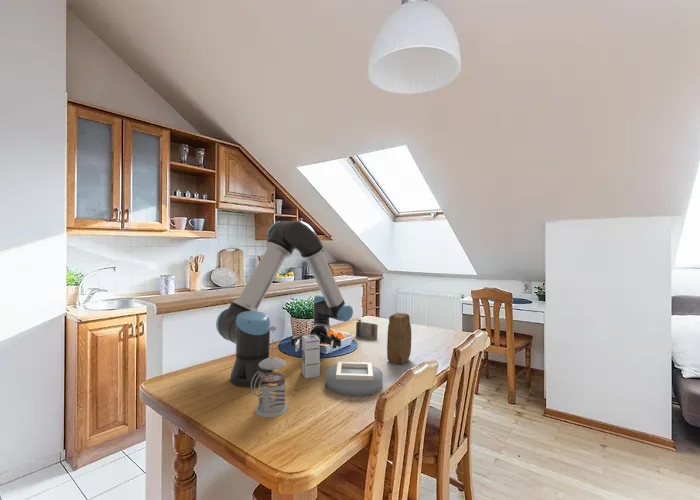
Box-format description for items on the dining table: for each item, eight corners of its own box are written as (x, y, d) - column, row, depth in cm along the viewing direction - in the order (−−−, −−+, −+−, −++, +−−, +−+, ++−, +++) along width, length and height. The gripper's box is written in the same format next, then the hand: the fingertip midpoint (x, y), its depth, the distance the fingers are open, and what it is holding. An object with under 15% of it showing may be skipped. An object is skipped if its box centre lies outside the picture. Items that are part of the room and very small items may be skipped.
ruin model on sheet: (355, 336, 183) (355, 318, 183) (358, 335, 186) (358, 317, 185) (374, 340, 177) (374, 321, 177) (377, 339, 180) (377, 320, 180)
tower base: (323, 395, 113) (323, 378, 113) (328, 372, 133) (328, 357, 133) (384, 397, 113) (385, 380, 112) (380, 373, 132) (380, 359, 132)
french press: (295, 408, 104) (296, 326, 103) (261, 423, 95) (263, 333, 94) (275, 398, 110) (276, 320, 110) (242, 410, 102) (244, 326, 101)
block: (400, 366, 141) (401, 317, 140) (384, 361, 145) (386, 314, 145) (413, 359, 149) (414, 313, 148) (398, 355, 154) (399, 310, 153)
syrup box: (319, 376, 128) (320, 338, 127) (304, 378, 126) (305, 339, 125) (315, 371, 133) (316, 334, 133) (300, 373, 131) (301, 335, 131)
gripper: (346, 342, 154) (346, 359, 133) (291, 341, 154) (281, 357, 133) (347, 325, 154) (346, 339, 133) (291, 324, 154) (281, 338, 133)
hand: (313, 348), depth 133 cm, fingers open, 13 cm apart
